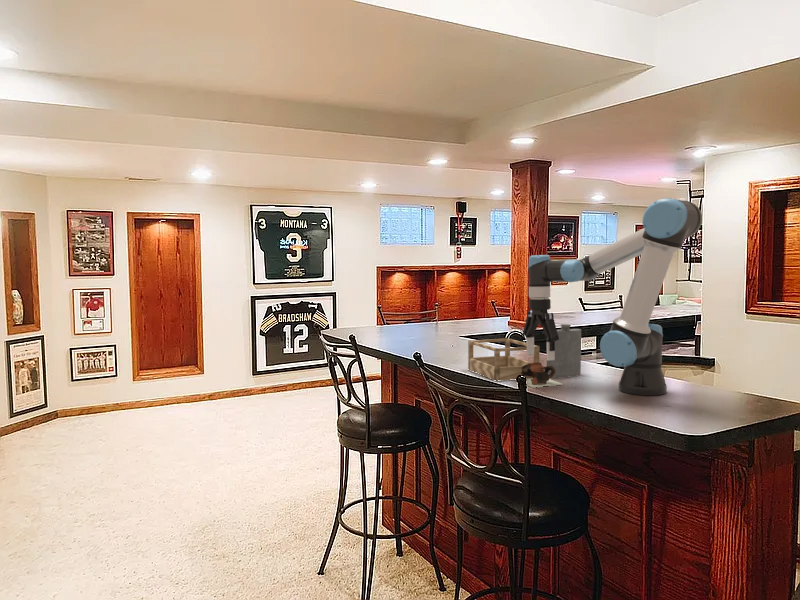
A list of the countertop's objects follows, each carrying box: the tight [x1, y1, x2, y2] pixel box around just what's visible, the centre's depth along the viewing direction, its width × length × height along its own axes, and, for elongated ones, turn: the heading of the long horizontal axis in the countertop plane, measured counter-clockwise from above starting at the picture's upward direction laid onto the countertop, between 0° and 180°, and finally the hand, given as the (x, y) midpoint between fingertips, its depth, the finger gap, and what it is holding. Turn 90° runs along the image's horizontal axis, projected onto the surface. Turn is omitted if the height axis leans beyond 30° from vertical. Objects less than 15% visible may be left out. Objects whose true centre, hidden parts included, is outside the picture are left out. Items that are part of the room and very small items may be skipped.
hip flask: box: [546, 323, 582, 379], centre depth 234 cm, size 16×4×20 cm, turn 118°
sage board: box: [526, 378, 564, 389], centre depth 222 cm, size 12×12×1 cm
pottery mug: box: [521, 361, 555, 385], centre depth 221 cm, size 12×10×8 cm
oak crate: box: [467, 337, 540, 382], centre depth 239 cm, size 24×18×12 cm
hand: (540, 357), depth 221 cm, fingers open, 13 cm apart
